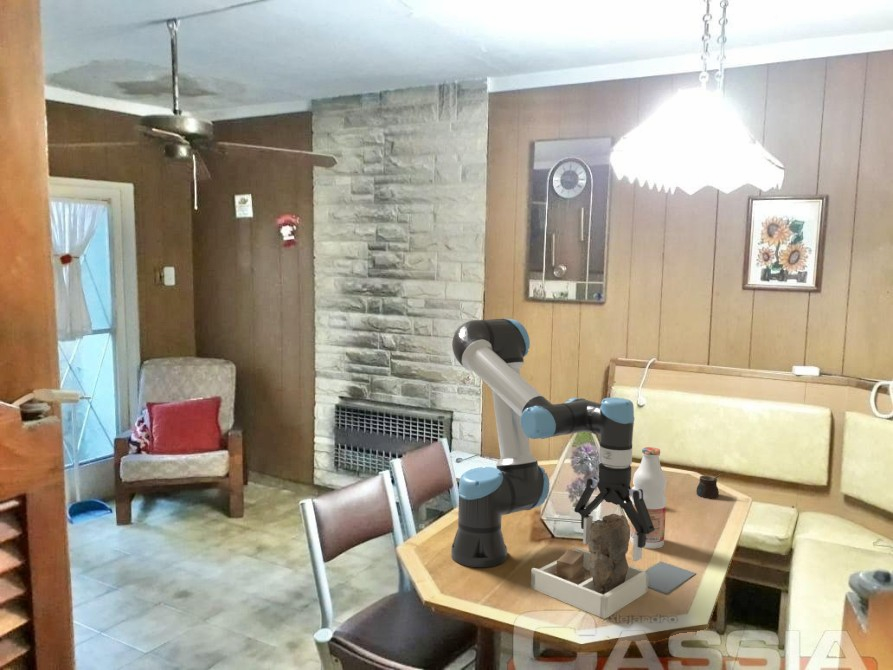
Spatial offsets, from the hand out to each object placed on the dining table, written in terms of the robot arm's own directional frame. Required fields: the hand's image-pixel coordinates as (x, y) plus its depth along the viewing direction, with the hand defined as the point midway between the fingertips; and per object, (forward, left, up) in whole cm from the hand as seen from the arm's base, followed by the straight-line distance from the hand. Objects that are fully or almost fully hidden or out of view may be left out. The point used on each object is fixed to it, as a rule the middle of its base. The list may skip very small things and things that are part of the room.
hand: (611, 551), depth 169 cm
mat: (+4, +20, -12) cm, 23 cm away
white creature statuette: (-28, +61, -12) cm, 68 cm away
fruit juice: (-10, +37, -12) cm, 40 cm away
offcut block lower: (-12, 0, -12) cm, 17 cm away
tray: (-6, 0, -12) cm, 13 cm away
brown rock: (0, 0, -12) cm, 12 cm away
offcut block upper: (-12, 0, -8) cm, 14 cm away
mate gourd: (-15, +87, -12) cm, 89 cm away
